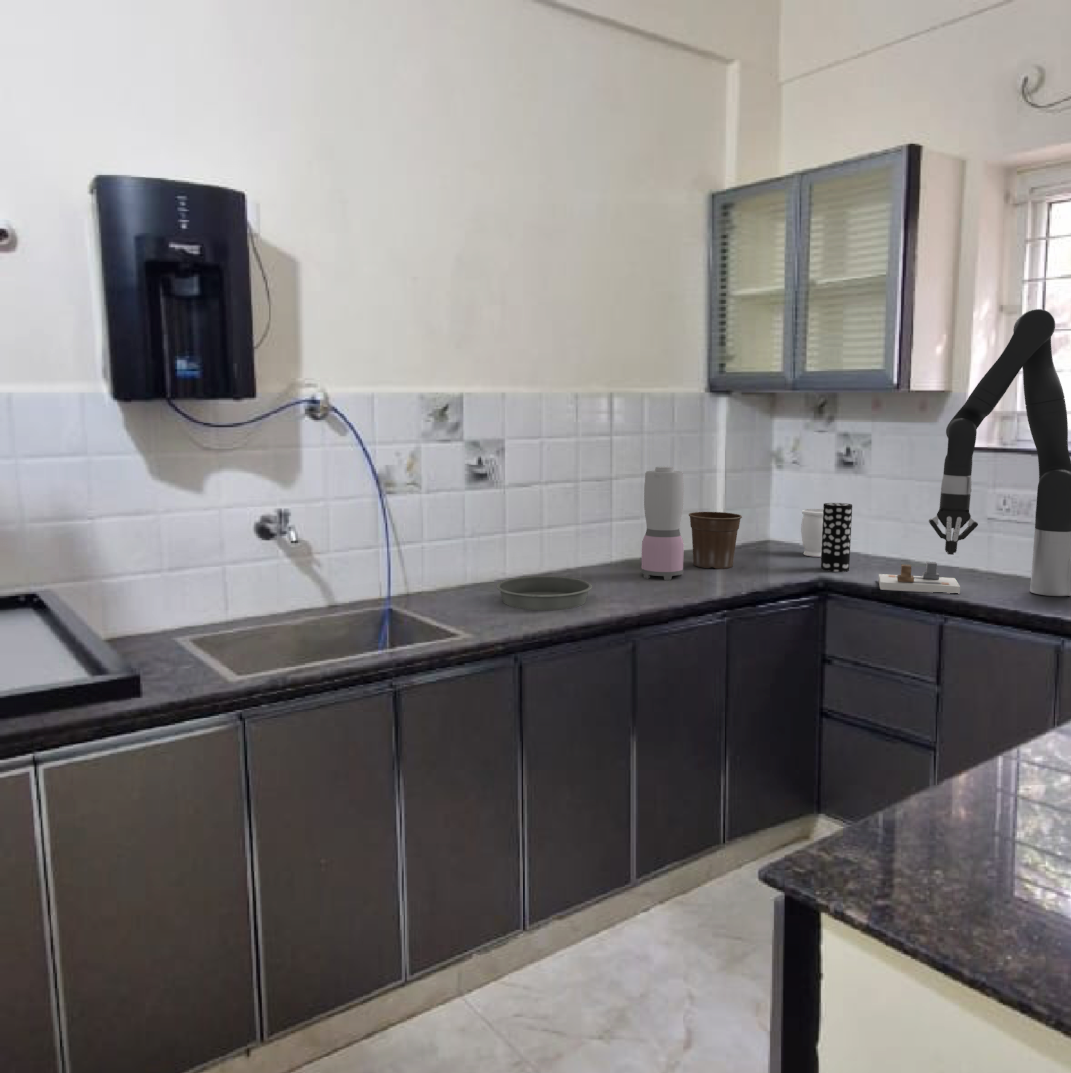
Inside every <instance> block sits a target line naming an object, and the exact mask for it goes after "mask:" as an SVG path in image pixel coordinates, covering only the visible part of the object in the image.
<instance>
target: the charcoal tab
mask: <svg viewBox="0 0 1071 1073" xmlns="http://www.w3.org/2000/svg"><path fill="white" fill-rule="evenodd" d="M925 566H926V567H925V571H922V576H923V578H927V579H939V577H940V573H939V572H937V567H938V563H937V562H936V561H926V563H925Z"/></svg>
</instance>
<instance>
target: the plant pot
mask: <svg viewBox="0 0 1071 1073" xmlns="http://www.w3.org/2000/svg"><path fill="white" fill-rule="evenodd" d="M688 516H689V520H690V521H689V523H690V528H691V542H692V561H693V562H692V564H693V566H695V567H698V568H702V569H710V568H714V569H715V570H720V569H722V570H725V569H731V568H733V566H734V559H735V552H736V544H737V536H738V530H739V529H740V522H741V519H742V518H743V515H741V514H738V513H732V512H725V511H696V512H690V513H688Z"/></svg>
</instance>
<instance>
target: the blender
mask: <svg viewBox="0 0 1071 1073" xmlns="http://www.w3.org/2000/svg"><path fill="white" fill-rule="evenodd" d="M684 489H685V488H684V472H683V471H681V470H674V467H673V466H664V465H663V466H662V465H661V466H655V467H654V470H646V472H644V487H643V508H644V516H645V522H646V523H645V524H646V531H645V534H644V536H643V538H642V540H641V567H640V572H641V574H643V578H644V579H647V580H649V579H650V578H651V576H656V577H657V576H658V577H663V580H664V581H671V580H672V577H673V576H680V577H681V576H682V575H683V574H684V553H685V552H684V545H685V544H684V540H683V538H682V535H681V532H680V531H681V530H680V527H681V522H682V515H683V510H684V492H685V490H684Z"/></svg>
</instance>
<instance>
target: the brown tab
mask: <svg viewBox="0 0 1071 1073" xmlns="http://www.w3.org/2000/svg"><path fill="white" fill-rule="evenodd" d="M897 575H898V576H897V580H898V581H900V582H914V577H913V576H914V575H912V564H901V565H900V574H897Z"/></svg>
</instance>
